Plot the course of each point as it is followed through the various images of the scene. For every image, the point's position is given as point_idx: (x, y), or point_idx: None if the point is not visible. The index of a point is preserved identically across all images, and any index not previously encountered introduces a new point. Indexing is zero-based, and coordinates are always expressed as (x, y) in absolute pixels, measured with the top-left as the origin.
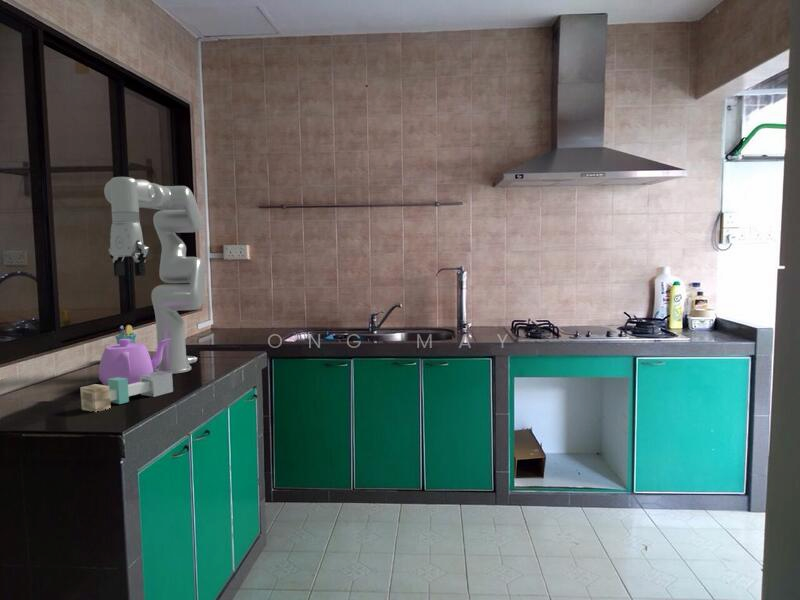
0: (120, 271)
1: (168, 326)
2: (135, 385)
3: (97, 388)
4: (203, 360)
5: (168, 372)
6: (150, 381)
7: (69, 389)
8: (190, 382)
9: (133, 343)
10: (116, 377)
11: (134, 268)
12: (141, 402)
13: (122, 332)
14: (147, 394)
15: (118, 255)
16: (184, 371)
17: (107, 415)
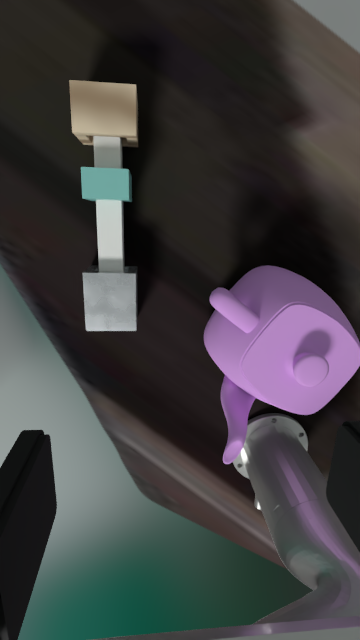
0: (350, 489)
1: (294, 519)
2: (97, 228)
3: (74, 94)
4: None
5: (95, 327)
6: None
7: (349, 232)
8: (135, 390)
9: (314, 399)
10: (126, 196)
11: (12, 481)
12: (68, 215)
13: None
14: None
15: (340, 627)
16: None
17: (26, 91)
